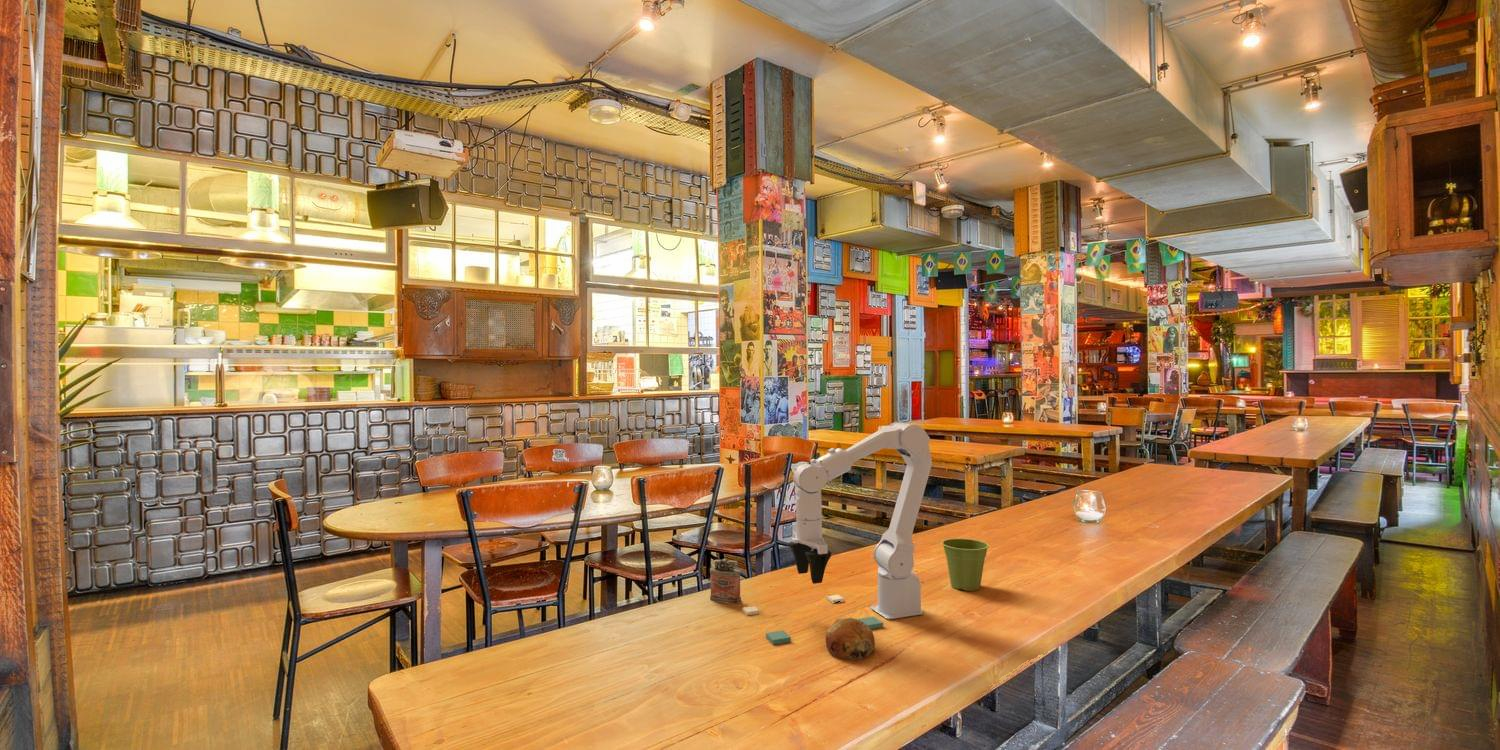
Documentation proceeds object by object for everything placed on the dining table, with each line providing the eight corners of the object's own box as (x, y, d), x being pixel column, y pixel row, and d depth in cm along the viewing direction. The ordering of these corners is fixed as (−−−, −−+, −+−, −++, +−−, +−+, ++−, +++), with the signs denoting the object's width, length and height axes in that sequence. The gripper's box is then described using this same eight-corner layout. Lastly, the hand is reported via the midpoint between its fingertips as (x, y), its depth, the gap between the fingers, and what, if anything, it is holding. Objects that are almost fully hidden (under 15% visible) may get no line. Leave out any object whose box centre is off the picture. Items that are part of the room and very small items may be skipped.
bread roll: (874, 662, 138) (874, 621, 141) (875, 661, 129) (874, 617, 132) (826, 659, 140) (827, 618, 143) (823, 657, 130) (824, 614, 134)
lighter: (707, 600, 165) (707, 559, 165) (713, 596, 168) (713, 556, 168) (737, 604, 162) (737, 563, 162) (743, 600, 165) (742, 559, 165)
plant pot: (999, 588, 172) (999, 544, 172) (969, 597, 165) (969, 552, 165) (961, 576, 182) (961, 535, 182) (931, 585, 175) (931, 542, 175)
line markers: (839, 597, 166) (839, 593, 166) (883, 627, 147) (883, 622, 147) (740, 611, 158) (740, 607, 158) (773, 644, 138) (773, 640, 138)
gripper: (780, 513, 157) (781, 570, 157) (806, 526, 144) (807, 589, 144) (807, 510, 160) (808, 567, 160) (835, 523, 146) (836, 585, 146)
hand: (809, 577), depth 152 cm, fingers open, 7 cm apart
